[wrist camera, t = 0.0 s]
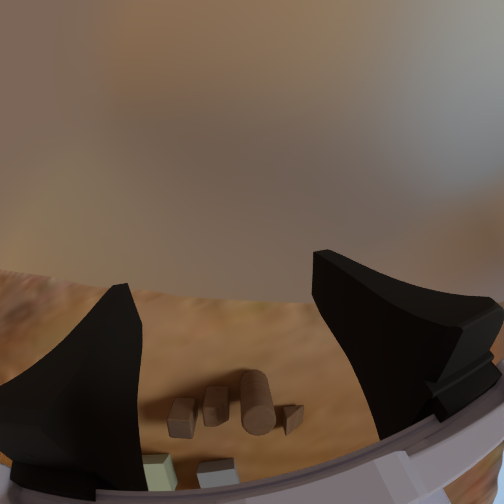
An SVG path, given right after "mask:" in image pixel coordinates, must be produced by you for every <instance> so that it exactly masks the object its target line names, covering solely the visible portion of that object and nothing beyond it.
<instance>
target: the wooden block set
mask: <svg viewBox="0 0 504 504" xmlns="http://www.w3.org/2000/svg"><path fill="white" fill-rule="evenodd" d="M240 400H241V423H242V426H243V428H244V429H245V430H246V431H247V432H248V433H250V434H252V435H264V434H266V433H269V432H270V431H271V430H272V429H273V427H274V426H275V423H276V415H275V411H274V406H273V402H272V397H271V393H270V389H269V384H268V380H267V377H266V375H265V374H264V373H263V372H261V371H259V370H249V371H247V372H245V373H244V374H243V376H242V378H241V380H240ZM229 404H230V402H229V387H228V386H207V387H206V392H205V397H204V402H203V407H202V410H203V420H204V425H205V426H212V427H215V426H218V425H220V424H222V423H224V422H226V421H228V420H229ZM303 410H304V405H299V406H287V407H283V421H282V424H283V427H284V431H285V435H286V436H287V435H288V434H289V433H290V432H292V431H293V430H294V429H295V428H296V427H297V426H298V425H299V424H300V423H302V422H303ZM197 416H198V412H197V403H196V399H195V398H178V397H176V398H175V399H174V402H173V404H172V407H171V410H170V412H169V415H168V417H167V426H168V431H169V436H170V437H172V438H186V439H192V438H193V435H194V430H195V425H196V421H197Z"/></svg>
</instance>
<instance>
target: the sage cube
mask: <svg viewBox="0 0 504 504" xmlns="http://www.w3.org/2000/svg"><path fill="white" fill-rule="evenodd" d="M142 460H143V466H144V471H145V476H146V481H147V485H148V490H149V491H174V490H175V488H176V486H177V483H178V480H177V477H176V473H175V470H174V467H173V463H172V460H171V456H170V454H156V455H142Z"/></svg>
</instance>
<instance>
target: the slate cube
mask: <svg viewBox="0 0 504 504" xmlns="http://www.w3.org/2000/svg"><path fill="white" fill-rule="evenodd" d="M197 477H198V480H199V484H200V487H201V489H202V488H211V487H219V486H226V485H232V484H239V483H240V480H239V476H238V473H237V469H236V465H235V461H234V458H230V459H224V460H217V461H210V462H202V463H199V467H198V470H197Z"/></svg>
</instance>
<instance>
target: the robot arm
mask: <svg viewBox="0 0 504 504" xmlns="http://www.w3.org/2000/svg"><path fill="white" fill-rule="evenodd" d="M312 296H313V299H314V301H315V303H316V306H317V308H318V310H319V312H320V314H321V316H322V317H323V319H324V321H325V322H326V324H327V325H328V327H329V329H330V330H331V332H332V333H333V335H334V337H335V338H336V340H337V341H338V343H339V344H340V346H341V348H342V349H343V351H344V352H345V354H346V356H347V358H348V359H349V361H350V363H351V365H352V367H353V369H354V372H355V374H356V376H357V378H358V380H359V383H360V385H361V388H362V390H363V392H364V395H365V397H366V400H367V402H368V405H369V408H370V411H371V413H372V416H373V419H374V422H375V425H376V429H377V432H378V435H379V438H380V441H379V442H376V443H374V444H372V445H369V446H367V447H365V448H362V449H360V450H357V451H355V452H352V453H349V454H347V455H344V456H341V457H338V458H336V459H333V460H330V461H327V462H324V463H321V464H318V465H314V466H311V467H308V468H304V469H301V470H297V471H294V472H290V473H286V474H282V475H278V476H274V477H269V478H265V479H260V480H255V481H250V482H244V483H239V484H232V485H226V486H219V487H211V488H202V489H191V490H177V491H149V490H148V485H147V481H146V476H145V471H144V466H143V460H142V453H141V446H140V437H139V427H138V410H137V395H138V383H139V373H140V364H141V355H142V322H141V320H140V317H139V314H138V312H137V309H136V306H135V303H134V300H133V298H132V295H131V292H130V289H129V286H128V283H124V284H118V285H113V286H112V287H111V288H110V289H109V290H108V291H107V292H106V293H105V294H104V295H103V296H102V298H101V299H100V300H99V301H98V302H97V303H96V305H95V306H94V307H93V308H92V309H91V310H90V312H89V313H88V314H87V315H86V316H85V317H84V318H83V319H82V321H81V322H80V323H79V324H78V325H77V326H76V327H75V328H74V329H73V330H72V331H71V333H70V334H69V335H68V336H67V337H66V338H65V339H64V340H62V341H61V342H60V343H59V344H58V345H57V346H56V347H55V348H54V349H53V350H52V351H50V352H49V353H48V354H47V355H45V356H44V357H43V358H42V359H40V360H39V361H38V362H37V363H35V364H34V365H33V366H31V367H30V368H29V369H27V370H26V371H24V372H23V373H21V374H20V375H18V376H17V377H15V378H13V379H12V380H10V381H8V382H7V383H5V384H3V385H1V386H0V451H1V452H2V453H3V454H5V455H6V456H7V457H8V458H10V459H11V460H12V461H13V462H12V468H11V467H9V466H7V465H5V464H2V463H0V504H451V502H450V501H449V499H448V497H447V495H446V493H445V492H444V490H443V488H444V487H445V486H447V485H448V484H450V483H451V482H453V481H454V480H455V479H457V478H458V477H460V476H461V475H462V474H464V473H465V472H466V471H468V470H469V469H470V468H471V467H473V466H474V465H475V464H477V463H478V462H479V461H480V460H481V459H483V458H484V457H485V456H486V455H487V454H489V453H490V452H491V451H492V450H493V449H494V448H495V447H497V446H498V445H499V444H500V443H501V442H502V441H503V440H504V358H503V359H502V360H501V361H500V362H499V363H498V364H497V365H496V366H495V365H494V364H493V363H492V360H493V358H494V355H493V354H492V352H491V351H490V348H491V346H492V344H493V343H494V341H495V339H496V337H497V335H498V333H499V331H500V329H501V327H502V324H503V321H504V309H503V308H502V307H501V306H500V305H499V304H498V303H496V302H495V301H494V300H493V299H492V298H490V297H480V296H464V295H457V294H450V293H445V292H439V291H435V290H430V289H426V288H422V287H418V286H415V285H412V284H409V283H406V282H403V281H399V280H397V279H394V278H391V277H389V276H387V275H384V274H382V273H379V272H377V271H375V270H372V269H370V268H368V267H366V266H364V265H361V264H359V263H357V262H355V261H353V260H351V259H349V258H347V257H345V256H343V255H340V254H338V253H336V252H333V251H331V250H328V249H327V250H321V251H316V252H313V279H312Z"/></svg>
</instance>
